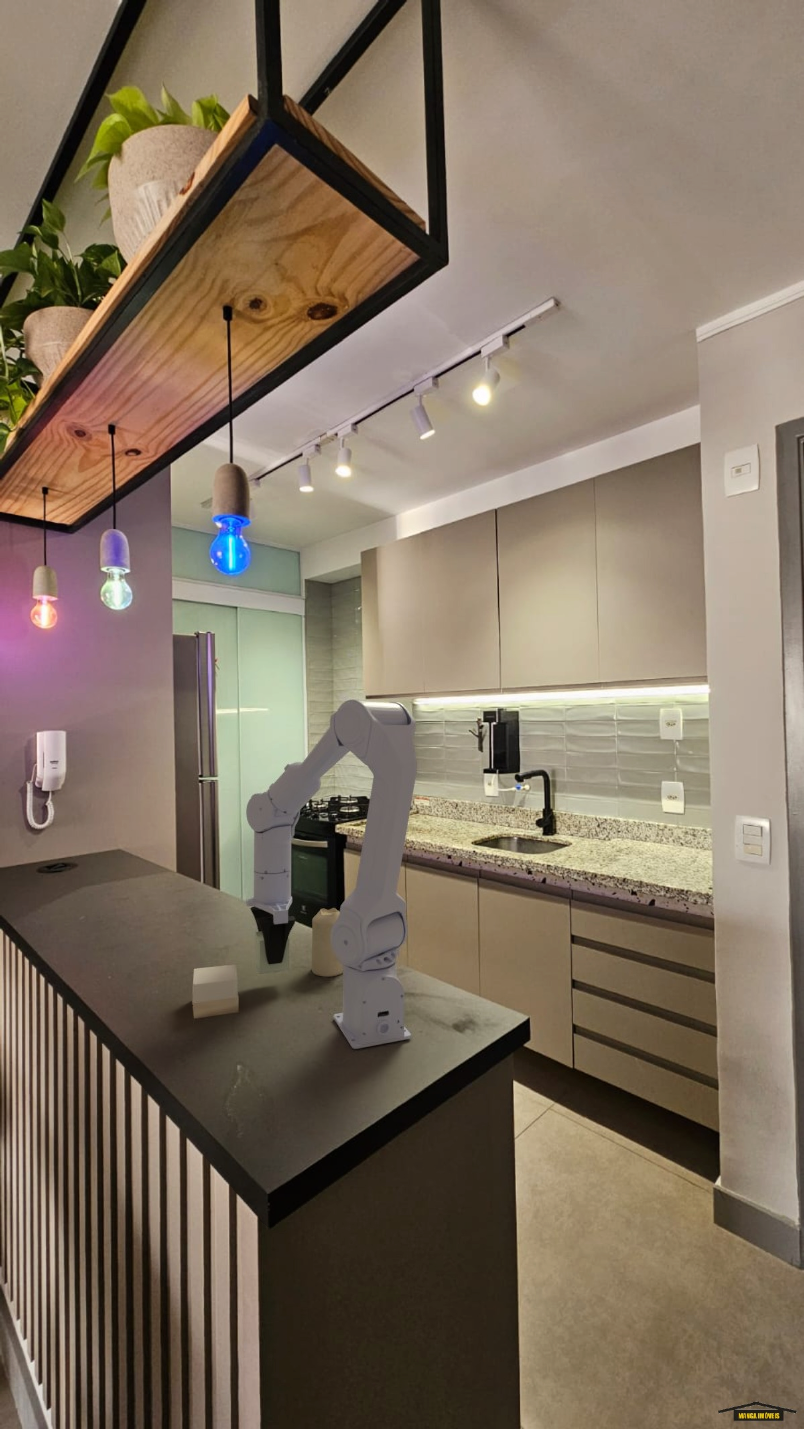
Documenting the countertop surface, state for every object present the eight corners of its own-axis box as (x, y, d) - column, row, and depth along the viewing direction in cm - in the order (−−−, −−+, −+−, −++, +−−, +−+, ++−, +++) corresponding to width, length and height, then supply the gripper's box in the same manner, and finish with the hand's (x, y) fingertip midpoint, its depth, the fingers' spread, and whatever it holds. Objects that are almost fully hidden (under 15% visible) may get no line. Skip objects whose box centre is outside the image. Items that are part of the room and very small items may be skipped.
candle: (305, 973, 104) (305, 911, 104) (324, 962, 109) (324, 903, 109) (333, 979, 101) (333, 916, 102) (351, 968, 106) (352, 908, 106)
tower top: (237, 997, 90) (237, 979, 90) (192, 1002, 88) (192, 984, 88) (235, 981, 95) (235, 964, 95) (193, 985, 94) (194, 968, 94)
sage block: (289, 970, 97) (289, 937, 98) (259, 974, 96) (259, 940, 96) (283, 960, 102) (283, 928, 102) (254, 963, 100) (255, 932, 100)
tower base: (238, 1014, 90) (238, 996, 90) (193, 1021, 88) (194, 1003, 88) (233, 997, 95) (233, 980, 95) (191, 1003, 93) (192, 986, 93)
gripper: (240, 862, 104) (239, 945, 104) (253, 882, 91) (252, 978, 90) (283, 859, 107) (282, 940, 107) (302, 878, 93) (301, 971, 93)
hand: (271, 957), depth 99 cm, fingers closed on sage block, 4 cm apart
